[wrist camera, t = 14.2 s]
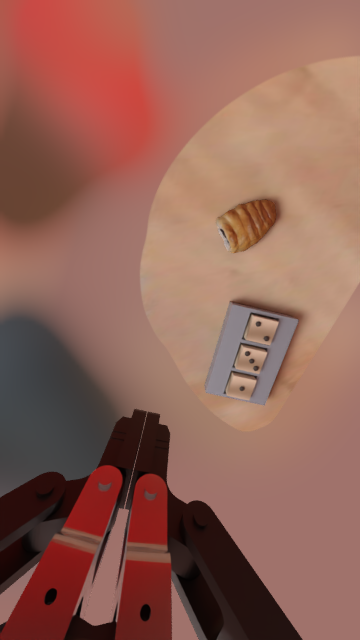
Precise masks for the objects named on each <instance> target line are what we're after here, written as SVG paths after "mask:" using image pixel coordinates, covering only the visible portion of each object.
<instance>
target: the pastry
mask: <svg viewBox="0 0 360 640" xmlns="http://www.w3.org/2000/svg"><path fill="white" fill-rule="evenodd" d="M275 220H276V210H275V204H274V203H273V202H271V201H268V200H260V201H259V200H256V201H252V202H249V203H247V204H239V205H238V206H236V208H234V209H232V210H230V211H228V212H226V213H225V214H224V215H223V216H221V217H218V218H217V220H216V225H217V227H218V231H219V234H220V235H221V237H222V238H223V240H224V245H225V247H226V249H227V250H228V251H229V252H231V253H236V252H241V251H245V250H246V249H248V248H249V247H250V246H252V245H253V244H255V243H257V242H258V241H259V240H260V239H261V238H262V237H263V236H264V234H266V233H267V231H268V230H269V228H270V227H271V226H272V225H273V224H274V222H275Z"/></svg>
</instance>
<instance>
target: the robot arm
mask: <svg viewBox="0 0 360 640" xmlns="http://www.w3.org/2000/svg"><path fill="white" fill-rule="evenodd" d="M146 413H147V412H146V411H142V410H138V409H134V412H133V415H132V418H127V417H122V418H121V419H120V420H119V421H118V422H117V423H116V425H115V427H114V429H113V432H112V434H111V437H110V439H109V441H108V444H107V446H106V449H105V451H104V453H103V456H102V458H101V461H100V463H99V465H98V467H97V468H96V470H94V471H93V472H92V473H91V474H90V475H89V476H87V477H85V478H82V479H77V480H70V481H66V480H65V478H64V476H63V475H61V474H60V473H58V472H47V473H43V474H41V475H39V476H37V477H35V478H34V479H32V480H30V481H28V482H27V483H25V484H23V485H21V486H20V487H18V488H16V489H14V490H12V491H11V492H9V493H7V494H5V495H4V496H2V497H1V498H0V594H1V593H2V592H4V591H5V590H6V589H7V588H9V587H10V586H11V585H12V584H13V583H14V582H16V581H17V580H18V579H19V578H20V577H21V576H23V575H24V574H25V573H26V572H27V571H29V570H30V569H31V568H32V567H33V566H35V565H36V564H37V563H38V562H39V561H40V562H39V563H38V565H37V567H36V569H35V571H34V573H33V574H32V577H31V578H30V580H29V582H28V584H27V586H26V587H25V589H24V591H23V593H22V595H21V597H20V599H19V600H18V602H17V604H16V606H15V608H14V610H13V611H12V614H11V615H10V617H9V619H8V621H7V622H5V623H3V624H1V625H0V640H172V600H171V579H172V581H173V583H174V585H175V588H176V590H177V592H178V595H179V597H180V599H181V601H182V603H183V606H184V608H185V610H186V612H187V614H188V616H189V619H190V621H191V623H192V625H193V628H194V630H195V632H196V634H197V637H198V639H199V640H302V638H301V637H300V635H299V634H298V632H297V631H296V630H295V628H294V627H293V625H292V624H291V622H290V621H289V620H288V618H287V617H286V615H285V614H284V613H283V611H282V610H281V608H280V607H279V605H278V604H277V602H276V601H275V599H274V598H273V597H272V595H271V594H270V592H269V591H268V589H267V588H266V587H265V585H264V584H263V582H262V581H261V579H260V578H259V577H258V575H257V574H256V572H255V571H254V569H253V568H252V566H251V565H250V564H249V562H248V561H247V559H246V558H245V556H244V555H243V554H242V552H241V551H240V549H239V548H238V546H237V545H236V544H235V542H234V541H233V539H232V538H231V536H230V535H229V534H228V532H227V531H226V529H225V528H224V526H223V525H222V523H221V522H220V521H219V519H218V518H217V516H216V515H215V513H214V512H213V511H212V509H211V508H210V507H209V506H208V505H207V504H206V503H204V502H202V501H192V502H189V503H188V504H186V503H184V502H183V501H181V500H179V499H178V498H176V497H175V496H174V495H173V494H172V493H171V491H170V490H169V488H168V485H167V479H166V478H167V464H168V453H169V441H170V432H169V429H168V427H167V426H166V425H161V424H159V418H160V414H157V413H152V412H148V413H147V417H146ZM145 417H146V422H145ZM144 422H145V426H144ZM143 426H144V430H143ZM142 430H143V434H142ZM141 435H142V438H141ZM140 439H141V442H140ZM139 443H140V447H139ZM138 447H139V451H138ZM137 451H138V455H137ZM136 456H137V459H136ZM135 460H136V463H135ZM134 463H135V468H134ZM133 468H134V472H133ZM132 472H133V476H132V481H131V485H130V489H129V494H128V498H127V502H126V507H125V509H128V510H129V514H128V518H127V523H126V527H125V531H124V537H123V543H122V549H121V556H120V562H119V568H118V575H117V581H116V588H115V594H114V600H113V605H112V610H111V616H110V621H109V623H106V624H102V625H98V626H92V625H91V624H89V623H87V622H86V621H85V620H83V619H84V616H85V612H86V609H87V606H88V602H89V598H90V595H91V592H92V589H93V586H94V582H95V580H96V577H97V573H98V571H99V568H100V564H101V562H102V558H103V555H104V552H105V550H106V546H107V543H108V540H109V537H110V534H111V531H112V528H113V526H114V524H115V521H116V517H117V513H118V510H119V508H123V509H124V505H125V501H126V496H127V492H128V488H129V484H130V480H131V475H132Z"/></svg>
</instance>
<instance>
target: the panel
mask: <svg viewBox="0 0 360 640" xmlns="http://www.w3.org/2000/svg"><path fill="white" fill-rule="evenodd" d="M250 313H253V314H257V315H261V316H265V317H270V318H273V319H275V320H276V321H278V322H279V323H278V326H277V328H276V331H275V334H274V336H273V339H272V342H271V344H270V345H266V344H261V343H257V342H253V341H248V340H246V339H245V338H244V337H243V334H244V331H245V328H246V325H247V322H248V319H249V316H250ZM298 321H299V320H298V319H296V318H294V317H292V316H289V315H284V314H280V313H276V312H272V311H267V310H263V309H259V308H255V307H251V306H246V305H242V304H238V303H234V302H230V303H229V306H228V310H227V313H226V316H225V319H224V323H223V326H222V329H221V333H220V336H219V339H218V343H217V346H216V349H215V352H214V356H213V359H212V362H211V366H210V369H209V372H208V376H207V379H206V382H205V392H206V393H210V394H214V395H219V396H223V397H228V398H233V399H237V400H242V401H246V402H251V403H256V404H260V405H265V403H266V401H267V398H268V396H269V393H270V391H271V388H272V386H273V383H274V381H275V378H276V376H277V373H278V371H279V368H280V366H281V363H282V361H283V358H284V356H285V353H286V351H287V348H288V346H289V343H290V341H291V338H292V336H293V334H294V331H295V329H296V326H297V324H298ZM240 342H241V343H245V344H250V345H254V346H259V347H263V348H264V349H265V351H266V352H267V355H266V358H265V360H264V363H263V366H262V368H261V371H260V374H256V373H252V372H247V371H243V370H238V369H236V368H235V366H234V360H235V357H236V354H237V351H238V348H239V345H240ZM231 370H232V371H236V372H241V373H245V374H250V375H254V377H255V379H256V380H257V381H256V384H255V387H254V389H253V392H252V395H251V397H250V400H244V399H239V398H235V397H230V396H227V394H226V391H225V387H226V384H227V381H228V378H229V375H230V372H231Z"/></svg>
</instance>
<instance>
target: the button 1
mask: <svg viewBox="0 0 360 640" xmlns="http://www.w3.org/2000/svg"><path fill="white" fill-rule="evenodd" d="M256 381H257V380H256V379H255V377H254V375H250V374H245V373H241V372H236V371H232V370H231V372H230V375H229V378H228V381H227V384H226V387H225V391H226V394H227V396H230V397H235V398H239V399H244V400H250V397H251V395H252V392H253V389H254V387H255V384H256Z"/></svg>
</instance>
